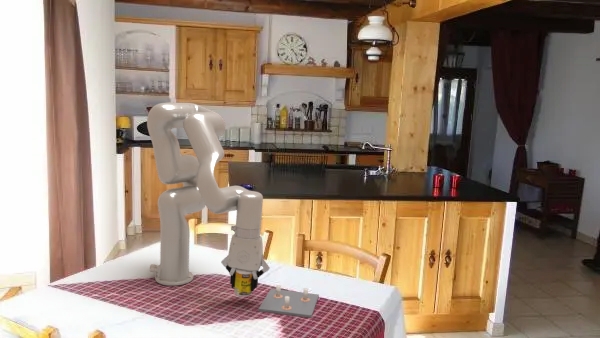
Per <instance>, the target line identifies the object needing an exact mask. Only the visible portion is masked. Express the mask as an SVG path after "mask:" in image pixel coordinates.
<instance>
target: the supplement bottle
mask: <svg viewBox="0 0 600 338" xmlns="http://www.w3.org/2000/svg"><path fill="white" fill-rule="evenodd" d="M252 278H253V274H252V271H247V270H241V269H236V275H235V287H234V288H233V289H234V290H233V291H234V292H233V293H234V294H235V295H236V296H237V297H243V298H244V297H245V298H246V297H250V296H251V295H252V293H253V291H251V282H252Z"/></svg>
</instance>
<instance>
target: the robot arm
mask: <svg viewBox="0 0 600 338" xmlns="http://www.w3.org/2000/svg"><path fill="white" fill-rule="evenodd" d="M146 127H147V130H148V134H149V137H150V140H151V143H152V148H153V154H154V155H153V156H154V160H155V161H154V162H155V166H156V167H155V168H156V172H157V176H158V179H159V181H160V183H162V184H163V185H178V184H182V186H181V187H174V188H169V189H166V190H165V191H163V192H162V193H160V195H159V196H158V199H157V210H158V214H159V220H160V221H159V222H160V224H159V225H160V246H159V247H160V256H159V257H160V259H159V261H160V262H159V263H160V264H159V265H158V264H154V263H151V264H150V265H149V272H150V273H156V274H155V281H156V282H157V283H158V284H160V285H163V286H171V287H172V286H183V285H186V284H188V283H189V284H190V282H192V281H193V280H194V274H193V272H191V271H190V267H189V266H190V233H191V231H190V226H189V223H188V221H187V219H186V216H187V215H191V214H195V213H198V212H201V211H202V210H204V209H205V207H206V208H207V209H208V210H209V211H210V213H213V214H216V215H219V214H224V213H229V212H233V211H236V218H235V225H231V227H230V231H233V232H234V233H233V234H232V236H231V238H230V239H231V240H230V243H229V250H228V255H226V257H224V258H223V259H222V260H221V264H222V265H223V266H224V267H225V269H226V271H227V272H228V274H229V275H230V280H229V283H230V287H231V289H234V288H235V275H236V269H241V270H247V271H252V274H253V278H252V282H251V291H252V292H254V291H255V289H257V288H258V282H259V281H258V280H259V278H260V277H261V276H263V274H265V273H267V272H268V271H269V270H270V266H269V265H268V263H267V262H266V261H265V259H264V246H263V245H264V244H263V243H264V242H263V236H261V227H262V215H263V203H264V201H263V200H264V196H263V194H262V193H260V192H259V191H256V190H255V191H254V190H250V189H247V188H245V187H243V186H241V185H231V186H226V187H225V186H224V187H219V185H218V183H217V181H216V177H215V167H216V165H217V164H218V163H219V162H220V161H222V159H223V158H224V157H225V150H224V147H223V146H222V144H221V141H220V140H219V138H220V137H221V136H222V135H223V134H224V133H225V130H226V123H225V120H224V118H223V117H222V115H220V114H219V112H217V111H214V110H211V109H209V108H206V107H204V106H201V105H199V104H196V103H193V102H174V101H173V102H171V101H170V102H169V101H168V102H161V103H157V104H155V105H154V106H153V107H151V108H150V110H149V111H148V114H147V118H146ZM172 129H183V130H184V132H185V135H186V137H187V139H188V142H189V143H190V146H191V148H192V150H193V152H194V154H195V155H192V154H182V153H181V148H180V143H179V140H178V138H177V136H176V135H175V133H174V132H173V131H172ZM261 267H262V269H261Z"/></svg>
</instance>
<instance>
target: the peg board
mask: <svg viewBox="0 0 600 338" xmlns="http://www.w3.org/2000/svg"><path fill="white" fill-rule="evenodd" d="M281 286H282V285H280V284H278V285H277V284H276V286H275V288H270V290H269V291H268V293H267V294H266V296H265V297H264V299H263V301H262V303H261V304H260V305H259V307H258V312H261V313H262V312H263V313H271V314H278V315H285V316H292V315H293V316H294V317H301V318H310V319H311V318H312V317H313V314H314V311H315V308H316V307H317V306H316V305H317V303H318V300H319V296H320V294H318V293H309V289H308V288H306V287H304V288H303V291H293V290H283V289H282V287H281Z"/></svg>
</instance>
